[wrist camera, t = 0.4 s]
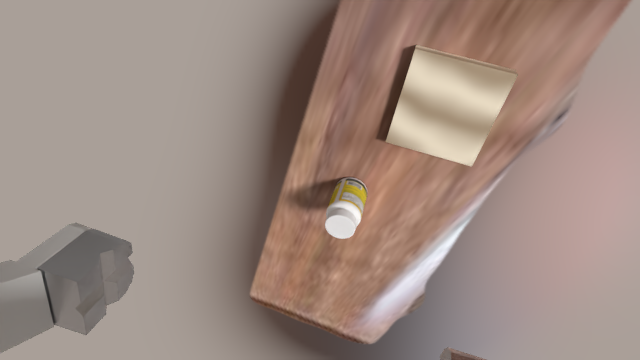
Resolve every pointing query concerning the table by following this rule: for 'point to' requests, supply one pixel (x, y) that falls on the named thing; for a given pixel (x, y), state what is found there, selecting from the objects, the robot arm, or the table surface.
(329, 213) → the supplement bottle
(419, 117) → the ash board
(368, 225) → the table surface
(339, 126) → the table surface
